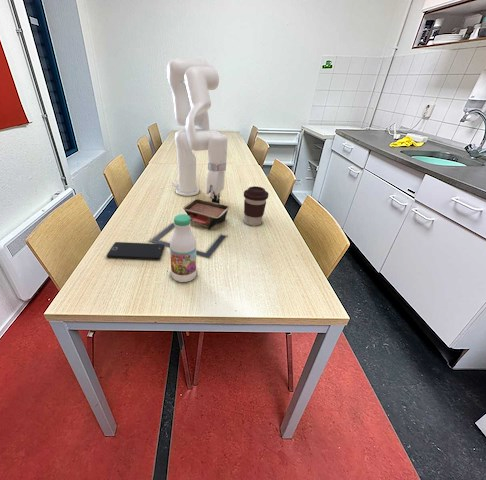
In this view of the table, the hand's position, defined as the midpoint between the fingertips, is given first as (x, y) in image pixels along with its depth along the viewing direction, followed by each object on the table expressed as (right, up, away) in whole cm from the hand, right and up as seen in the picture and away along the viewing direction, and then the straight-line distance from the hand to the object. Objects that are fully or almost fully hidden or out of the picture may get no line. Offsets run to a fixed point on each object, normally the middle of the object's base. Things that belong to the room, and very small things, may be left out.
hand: (215, 207), depth 121 cm
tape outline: (-10, -14, -17) cm, 24 cm away
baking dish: (-4, -7, -5) cm, 9 cm away
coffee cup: (+16, -7, -4) cm, 18 cm away
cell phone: (-28, -19, -26) cm, 43 cm away
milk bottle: (-11, -26, -36) cm, 46 cm away
